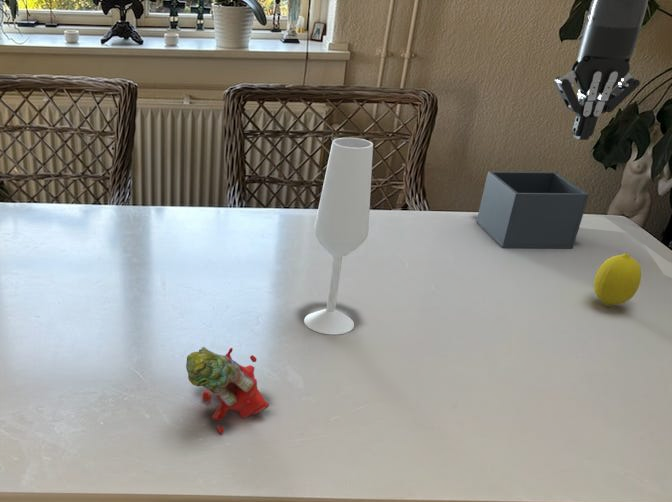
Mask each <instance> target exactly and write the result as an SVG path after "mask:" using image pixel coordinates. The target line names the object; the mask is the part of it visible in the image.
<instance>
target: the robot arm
mask: <svg viewBox="0 0 672 502" xmlns="http://www.w3.org/2000/svg"><path fill="white" fill-rule="evenodd" d="M648 3H649V0H591V2H590V6H589V8H588V13H587V15H586V20H585V23H584V28H583V31H582V35H581V39H580V42H579V47H578V52H577V58H576V60H575V62H574V63H573V65H572V66H571V70H570V71H569V72H566V74H564V75H563V76H560V75H559V76H556V77H555V78H554V84H555V87H556V89H557V91H558V93H559V95H560V98H561V99H562V101H563V103H564V105H565V107H566V109H567V110H569V111H572V112H574V113H575V118H574V121H573V125H572V129H571V134H572V135H573V138H574V139H576V140H578V141H588V140H589V139H590V137H592V136H593V134H594V132H595V129H596V126H597V122H598V118H599V117H600V116H601V115H602V114H604V113H611V112H613V111H614V110H615V109H616V108H618V106H619V105H620V104H622V102H623V101H625V99H627V98H628V96H630V95H631V94H632V93H633V92H634V91H635V90H636V89H637V88H638V87H639V86H640V84H641V81H640V80H639V79H637V78H636V77H634V76H633V75H632V74H631V73H630V70H631V64H630V61H631V60H630V59H631V57H632V56H633V55H634V52H635V48H636V45H637V41H638V38H639V35H640V31H641V29H642V25H643V22H644V19H645V15H646V13H647V12H646V11H647V9H648ZM575 84H576V86H577V88H578V90H577V95H576V93H575V91H574V88H573V87H574V86H575Z"/></svg>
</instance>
